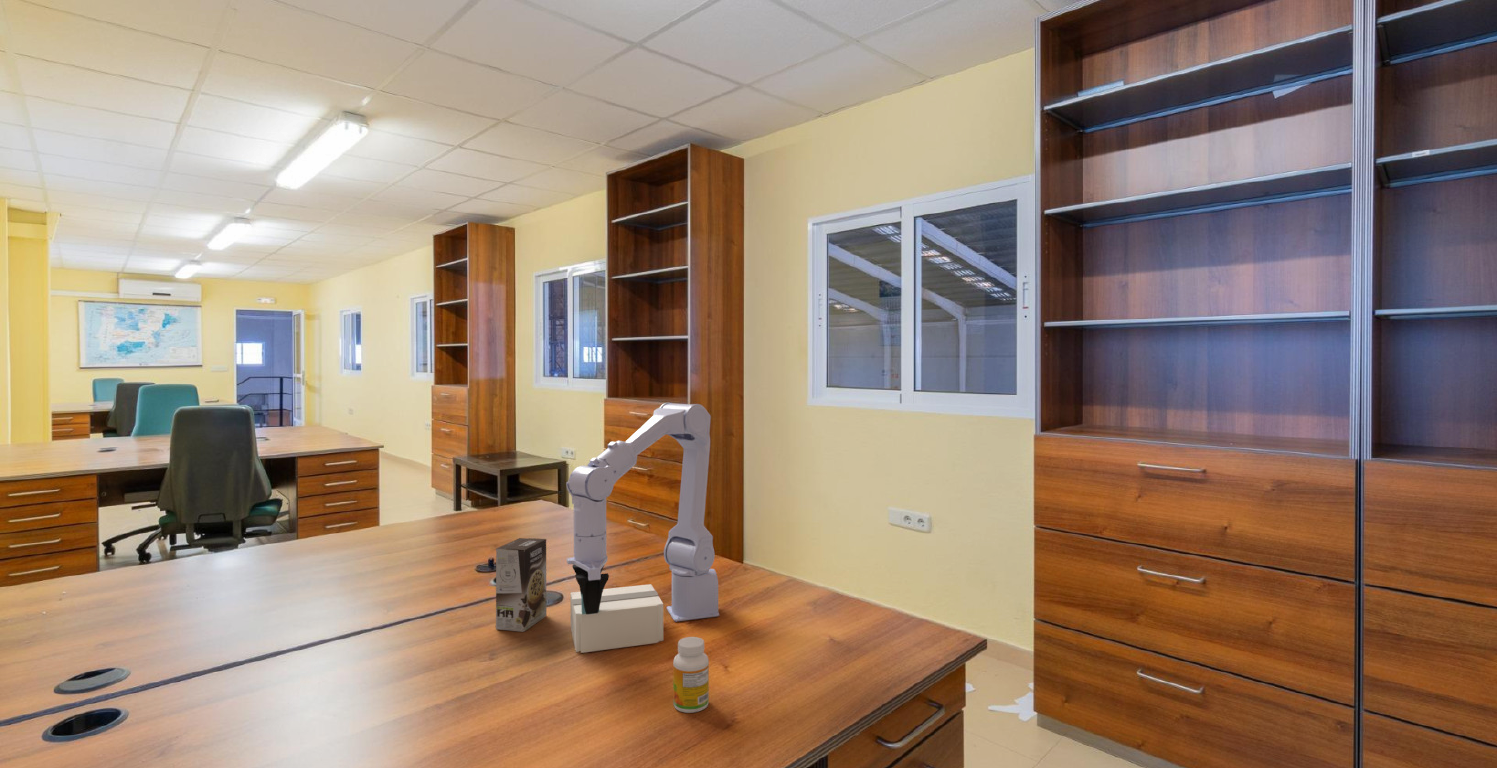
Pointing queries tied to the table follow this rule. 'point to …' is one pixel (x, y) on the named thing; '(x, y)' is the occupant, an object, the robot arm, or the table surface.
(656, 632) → the green beige flat block
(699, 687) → the supplement bottle
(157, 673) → the table surface
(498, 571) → the coffee box
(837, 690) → the table surface
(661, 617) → the carton
